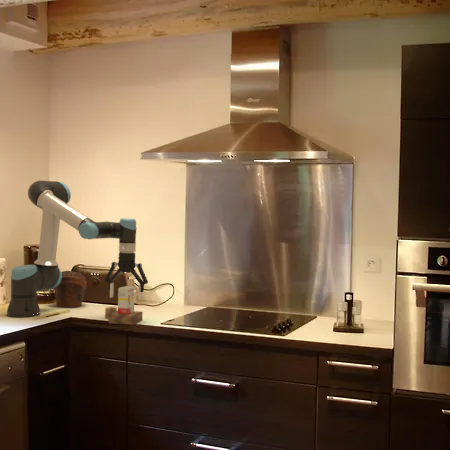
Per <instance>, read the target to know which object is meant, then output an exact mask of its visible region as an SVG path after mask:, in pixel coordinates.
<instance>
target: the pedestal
mask: <svg viewBox="0 0 450 450" xmlns="http://www.w3.org/2000/svg"><path fill="white" fill-rule="evenodd" d="M143 313H144V312H143V311H137V310H134V312H132V313H130V314H118V310H117V311H115V312H113V313H111V314H109V319H108V324H117V325H131V326H132V325H133V326H134V325H136V324H137V323H139V322H141V321H143Z"/></svg>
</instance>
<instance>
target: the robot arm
mask: <svg viewBox="0 0 450 450" xmlns="http://www.w3.org/2000/svg"><path fill="white" fill-rule="evenodd" d="M27 196H28V199H29V201H30V202H31V203H32V205H35V206H36V207H37V208H39V209H41V210H42V217H41V225H40V236H39V244H38V253H37V259H35V261H34V262H33V264H24V265H23V264H21V265H18V266H15V267H13V268H12V269H11V275H10V300H9V304H8V306H7V309H6V316H7V317H12V318H31V317H36V316H40V315H41V309H40V306H39V302H38V299H37V292H41V291H49V290H51V289H53V290H54V288H55V287H57V286H58V285H59V284H60V282H61V279H62V272H63V271H61V268H60V267H59V263H58V262H57V260H56V259H57V252H58V243H59V241H58V240H59V232H60V224H61V221H62V222H64V223H66V224H67V225H69V226H70V227H72V228H73V229H75V230H77V232H78V234H79V236H80V237H81V238H82V239H85V240H96V239H97V240H98V239H100V240H101V239H118V242H119V243H118V252H119V253H118V262H116V261H112V262H111V264H110V265H111V266H110V269H109V270H108V272H107V274H106V276H105V278H104V279H103V281H104V282H106V283H107V284H108V285H107V287H108V289H107V290H108V291H109V298H114V291H115V290H114V289H115V288H114V287H115V283H114V281H115V280H116V279H117V277H118V276H119V275H120V274H121V273H127V274H129V273H131V274H132V276H133V277H134V278H135V279H136V281H137V282H138V283H139V284H138V286H137V287H138V289H137V290H138V291H137V292H138V294H137V300H138V301H139V300H142V296H143V294H142V293H143V292H144V291H145V289H144V288H145V285H147V284H149V280H148V278H147V276H146V274H145V272H144V269H143V263H141V262H139V263H136V248H137V245H136V244H137V243H136V241H137V239H136V238H137V220H136V219H135V218H120V219H119V222H116V221H115V222H113V221H94V220H93V219H91V218H90V217H88V216H87V215H85V214H83V213H82V212H80V211H79V210H77V209H75V207H73V206H71V205H69V204H68V203H70V201H71V197H72V196H71V189H70V188H69V187H68V185H67V184H66V183H65V182H61V181H55V180H42V179H41V180H36V181H34V182H32V183H31V184H30V185H29V187H28V189H27ZM116 267H117V268H118V269H117V270H116V272H115V273H114V270H115V269H116ZM135 268H136V269H137V270H138V272H137V271H136V270H135ZM113 273H114V274H113ZM138 273H139V274H138ZM112 274H113V275H112ZM39 312H40V313H39ZM37 313H38V314H37ZM33 314H34V315H33Z"/></svg>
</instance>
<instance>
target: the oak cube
mask: <svg viewBox="0 0 450 450" xmlns="http://www.w3.org/2000/svg"><path fill="white" fill-rule="evenodd" d="M104 311H105V312H104V313H105V315H104V319H106V320H109V314H111V313H113V312H115V311H118V306H106V307H105V309H104Z"/></svg>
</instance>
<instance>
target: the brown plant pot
mask: <svg viewBox="0 0 450 450" xmlns="http://www.w3.org/2000/svg"><path fill="white" fill-rule="evenodd" d="M61 272H62V279H61V282H60V284H59V285H58V286H57V287H55V288H53V292H54V297H55V302H56V304H55V305H56V307H58V308H67V309H68V308H70V309H73V308H78V307H81V306H82V305H83V304H82V303H83V300H84V297H85V294H86V290H87V287H88V285H87V284H88V280H87V278H86V276H84V275H83V274H82V273H80V272H78V271H73V270H63V271H61Z"/></svg>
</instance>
